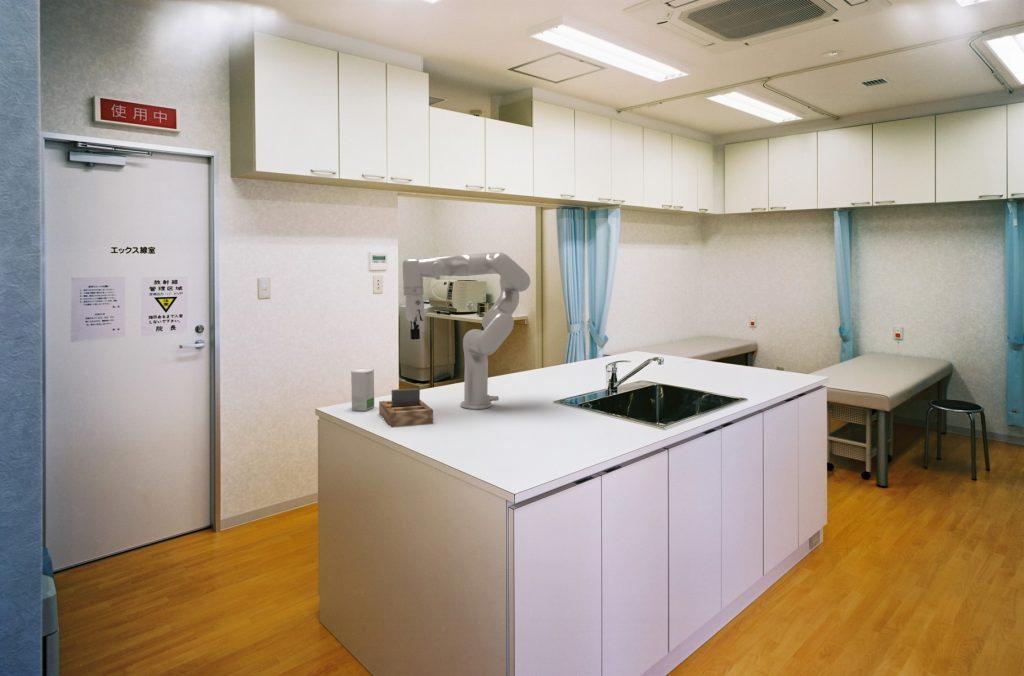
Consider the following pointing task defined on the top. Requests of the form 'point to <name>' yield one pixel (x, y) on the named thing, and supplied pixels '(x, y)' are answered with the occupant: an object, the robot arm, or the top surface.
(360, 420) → the top surface
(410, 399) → the panel
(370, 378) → the skincare box
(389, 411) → the rack
